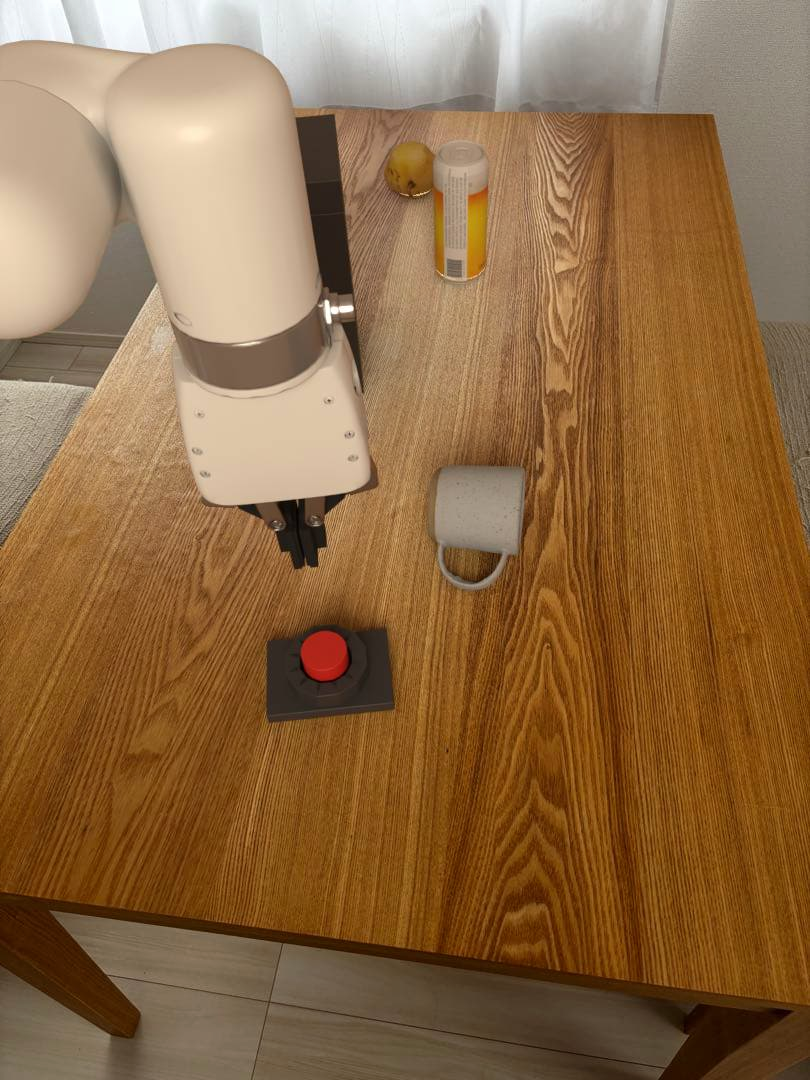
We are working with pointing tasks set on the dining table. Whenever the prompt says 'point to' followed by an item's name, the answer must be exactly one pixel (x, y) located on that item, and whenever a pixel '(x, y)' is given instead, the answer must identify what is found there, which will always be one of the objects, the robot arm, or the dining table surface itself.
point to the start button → (324, 656)
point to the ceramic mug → (476, 513)
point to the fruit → (410, 169)
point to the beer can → (460, 210)
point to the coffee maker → (328, 212)
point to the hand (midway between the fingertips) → (306, 551)
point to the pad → (347, 694)
